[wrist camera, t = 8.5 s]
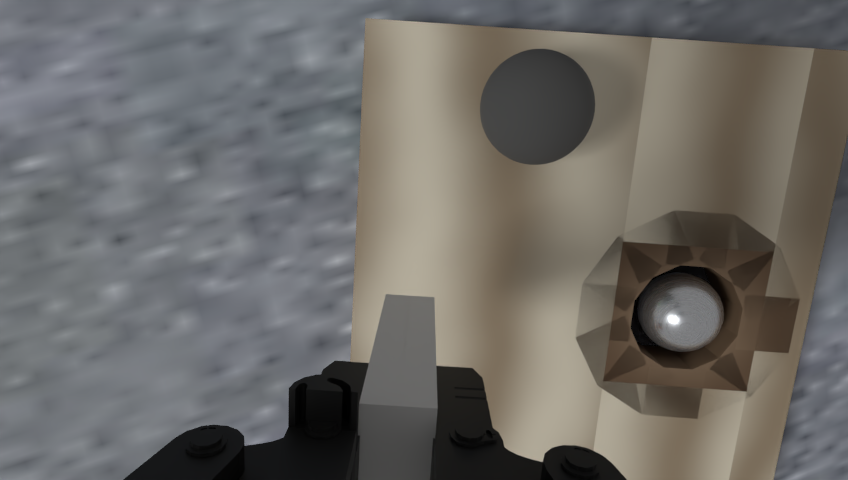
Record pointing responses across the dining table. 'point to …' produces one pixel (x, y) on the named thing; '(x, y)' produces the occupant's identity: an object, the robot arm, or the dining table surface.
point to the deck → (605, 235)
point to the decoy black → (537, 106)
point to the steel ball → (680, 312)
